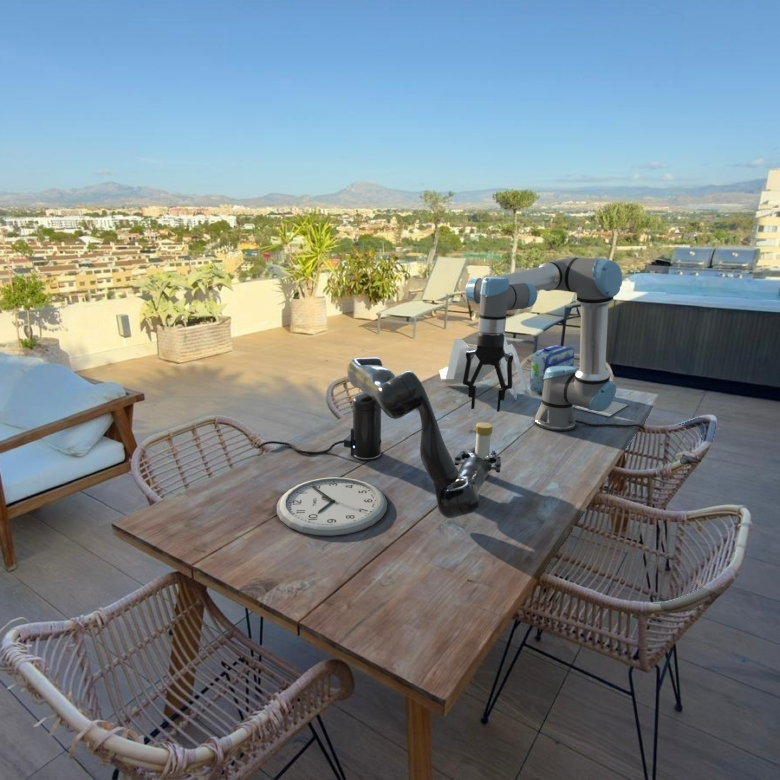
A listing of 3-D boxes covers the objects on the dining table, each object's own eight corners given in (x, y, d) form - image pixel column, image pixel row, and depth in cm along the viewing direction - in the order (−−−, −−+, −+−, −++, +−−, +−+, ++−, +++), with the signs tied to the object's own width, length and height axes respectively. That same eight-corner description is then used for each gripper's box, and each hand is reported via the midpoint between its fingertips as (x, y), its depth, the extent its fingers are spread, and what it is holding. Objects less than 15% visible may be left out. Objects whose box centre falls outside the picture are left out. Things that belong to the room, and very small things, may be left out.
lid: (487, 436, 154) (488, 429, 154) (472, 432, 157) (473, 425, 156) (494, 431, 158) (495, 424, 158) (479, 428, 161) (480, 421, 160)
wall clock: (392, 527, 129) (268, 531, 127) (391, 533, 130) (269, 537, 127) (383, 473, 158) (282, 475, 155) (383, 478, 158) (282, 480, 156)
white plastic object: (461, 429, 252) (437, 405, 227) (444, 352, 274) (420, 323, 250) (535, 404, 240) (518, 377, 215) (510, 326, 262) (492, 293, 237)
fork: (413, 411, 216) (413, 406, 216) (424, 399, 231) (424, 395, 230) (419, 411, 216) (419, 407, 215) (429, 400, 230) (429, 396, 229)
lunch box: (546, 398, 236) (551, 353, 229) (525, 393, 243) (529, 349, 237) (573, 387, 253) (579, 344, 247) (553, 382, 260) (558, 341, 254)
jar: (483, 479, 159) (487, 430, 154) (471, 475, 161) (474, 426, 157) (489, 474, 163) (493, 425, 158) (477, 470, 165) (480, 422, 160)
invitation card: (608, 416, 214) (573, 407, 224) (608, 416, 214) (573, 408, 224) (628, 404, 229) (594, 396, 238) (628, 405, 229) (594, 397, 238)
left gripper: (498, 466, 144) (508, 444, 159) (447, 458, 148) (461, 437, 164) (496, 491, 146) (506, 466, 161) (446, 482, 151) (460, 459, 166)
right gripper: (527, 332, 150) (519, 408, 157) (458, 328, 154) (454, 401, 161) (526, 337, 143) (519, 416, 150) (454, 332, 148) (450, 409, 154)
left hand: (483, 452), depth 162 cm, fingers open, 5 cm apart
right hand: (485, 408), depth 155 cm, fingers open, 7 cm apart
